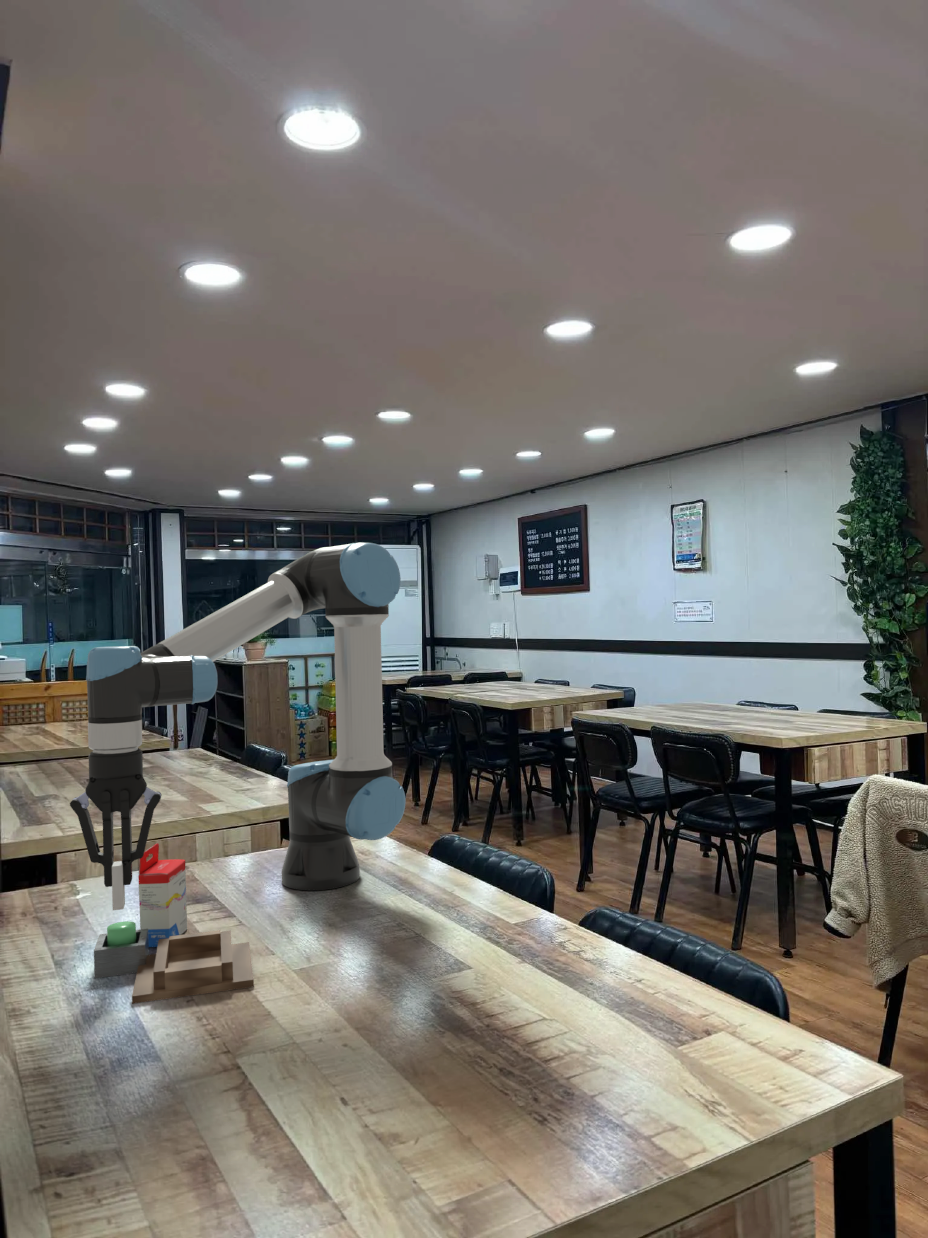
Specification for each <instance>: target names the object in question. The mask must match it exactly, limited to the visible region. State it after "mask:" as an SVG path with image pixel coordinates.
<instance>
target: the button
mask: <svg viewBox="0 0 928 1238" xmlns="http://www.w3.org/2000/svg"><path fill="white" fill-rule="evenodd" d="M136 924H137V923H136V922H134V921H129V920H128V921H118V922H114V923H112V924H110V925H108V926H107V928H106V930H107V931H106V934H107V941H108V947H110V946H118V945H126V944H134V943H136V930H137V928H136V927H137V925H136Z"/></svg>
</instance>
